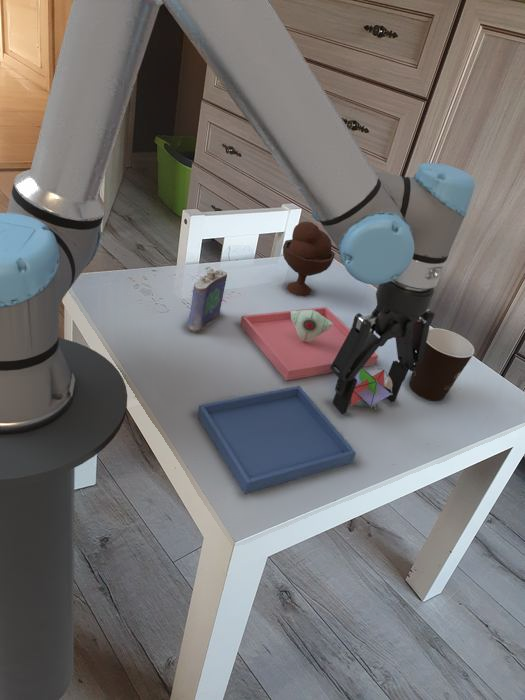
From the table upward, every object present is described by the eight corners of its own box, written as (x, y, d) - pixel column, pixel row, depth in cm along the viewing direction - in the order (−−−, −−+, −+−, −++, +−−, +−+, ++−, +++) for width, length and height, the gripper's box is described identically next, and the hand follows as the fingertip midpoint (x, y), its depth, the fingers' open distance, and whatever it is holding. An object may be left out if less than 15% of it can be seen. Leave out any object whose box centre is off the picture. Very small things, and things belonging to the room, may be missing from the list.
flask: (196, 334, 96) (204, 280, 90) (182, 328, 97) (189, 274, 91) (222, 315, 103) (231, 263, 97) (209, 309, 104) (217, 258, 98)
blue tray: (244, 493, 68) (247, 483, 67) (197, 415, 79) (199, 404, 78) (352, 462, 77) (356, 452, 76) (296, 395, 87) (299, 385, 86)
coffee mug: (429, 410, 91) (452, 362, 85) (393, 380, 96) (412, 332, 91) (471, 394, 97) (495, 348, 92) (434, 367, 103) (455, 322, 97)
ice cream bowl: (288, 304, 112) (305, 236, 104) (266, 278, 120) (280, 212, 112) (332, 302, 116) (351, 236, 108) (307, 276, 124) (324, 214, 116)
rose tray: (286, 380, 90) (288, 371, 89) (240, 324, 101) (241, 315, 100) (375, 364, 99) (378, 355, 98) (323, 315, 111) (326, 306, 110)
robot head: (327, 342, 101) (336, 311, 98) (324, 354, 98) (334, 322, 94) (285, 330, 102) (293, 299, 98) (281, 341, 98) (289, 309, 95)
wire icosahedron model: (355, 413, 83) (391, 374, 82) (327, 386, 87) (361, 348, 86) (373, 425, 88) (407, 388, 87) (346, 399, 92) (379, 364, 91)
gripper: (364, 300, 69) (321, 431, 81) (482, 286, 79) (428, 404, 91) (330, 272, 74) (295, 400, 86) (445, 263, 84) (399, 377, 97)
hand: (364, 402), depth 89 cm, fingers open, 9 cm apart
